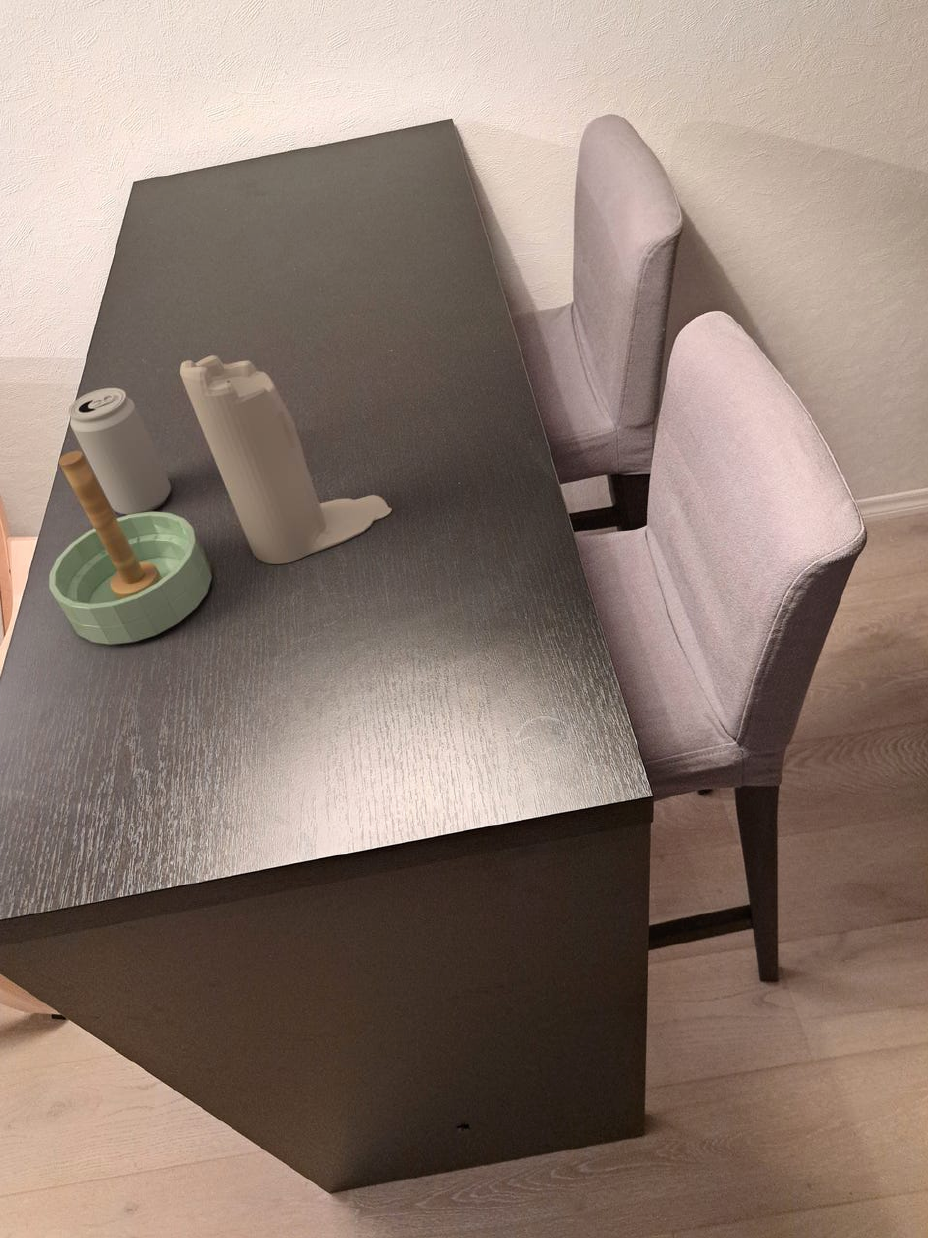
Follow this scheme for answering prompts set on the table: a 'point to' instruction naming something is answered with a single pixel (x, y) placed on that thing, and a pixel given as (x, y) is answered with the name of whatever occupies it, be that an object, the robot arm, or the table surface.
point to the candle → (268, 464)
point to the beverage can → (119, 451)
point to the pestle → (108, 529)
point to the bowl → (153, 610)
